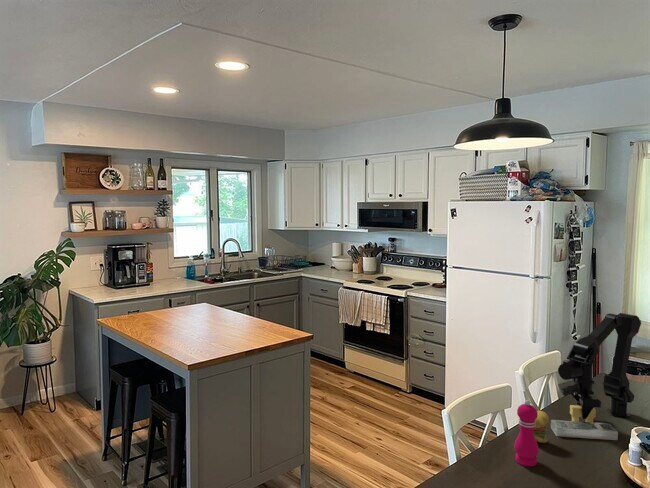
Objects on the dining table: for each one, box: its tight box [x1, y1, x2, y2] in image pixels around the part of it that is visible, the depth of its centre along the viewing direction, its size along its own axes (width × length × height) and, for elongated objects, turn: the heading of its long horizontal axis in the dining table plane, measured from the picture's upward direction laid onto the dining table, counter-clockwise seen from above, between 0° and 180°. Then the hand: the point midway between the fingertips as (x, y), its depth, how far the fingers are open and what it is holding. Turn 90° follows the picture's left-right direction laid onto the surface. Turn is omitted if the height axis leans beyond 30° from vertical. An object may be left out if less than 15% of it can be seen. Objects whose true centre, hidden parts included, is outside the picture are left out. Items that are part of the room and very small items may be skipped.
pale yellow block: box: [569, 404, 597, 422], centre depth 185 cm, size 8×3×6 cm, turn 81°
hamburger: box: [534, 410, 550, 444], centre depth 170 cm, size 8×7×12 cm
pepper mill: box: [513, 399, 540, 467], centre depth 156 cm, size 7×7×20 cm
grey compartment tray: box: [550, 419, 619, 441], centre depth 176 cm, size 20×7×3 cm, turn 81°
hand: (582, 416), depth 186 cm, fingers open, 4 cm apart
